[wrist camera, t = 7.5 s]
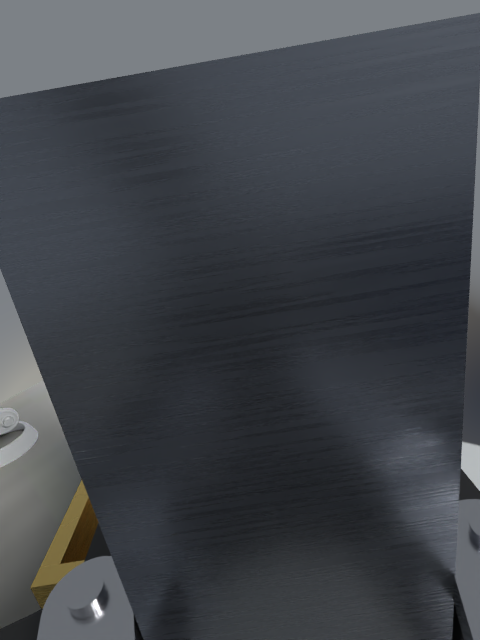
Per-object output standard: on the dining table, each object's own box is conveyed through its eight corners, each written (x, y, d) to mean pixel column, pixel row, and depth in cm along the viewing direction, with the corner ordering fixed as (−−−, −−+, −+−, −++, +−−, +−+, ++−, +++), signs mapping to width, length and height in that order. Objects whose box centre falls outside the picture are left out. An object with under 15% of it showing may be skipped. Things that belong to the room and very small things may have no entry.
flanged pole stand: (149, 474, 35) (48, 158, 26) (267, 454, 35) (207, 128, 26) (73, 775, 17) (-338, 108, 8) (313, 738, 17) (171, 8, 8)
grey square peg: (245, 697, 12) (100, 149, 7) (371, 678, 12) (332, 109, 6) (255, 929, 8) (-63, 107, 3) (438, 904, 8) (483, 12, 3)
